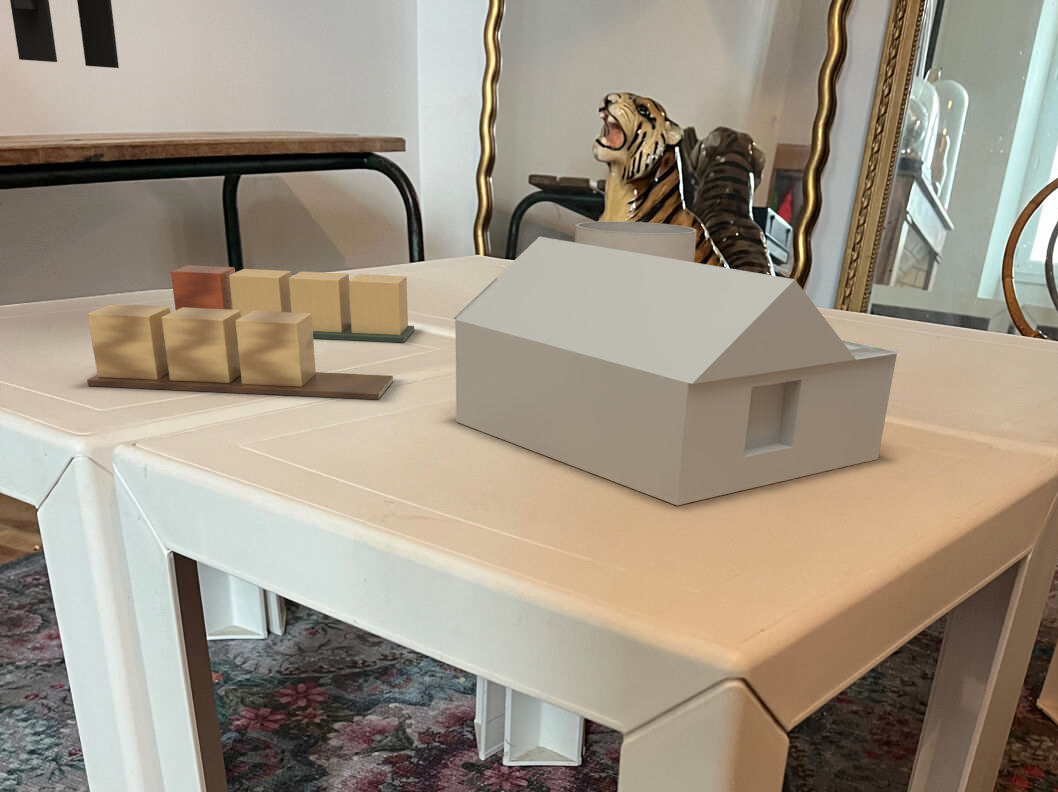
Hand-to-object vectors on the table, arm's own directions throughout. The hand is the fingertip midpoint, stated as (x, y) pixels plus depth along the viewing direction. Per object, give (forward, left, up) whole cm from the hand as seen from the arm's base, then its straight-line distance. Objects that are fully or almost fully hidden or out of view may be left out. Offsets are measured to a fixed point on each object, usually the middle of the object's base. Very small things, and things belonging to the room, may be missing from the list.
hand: (72, 64), depth 95 cm
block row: (+14, +12, -23) cm, 29 cm away
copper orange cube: (+5, +12, -22) cm, 26 cm away
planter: (+49, +21, -23) cm, 58 cm away
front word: (+16, -13, -23) cm, 31 cm away
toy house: (+51, -25, -23) cm, 61 cm away
